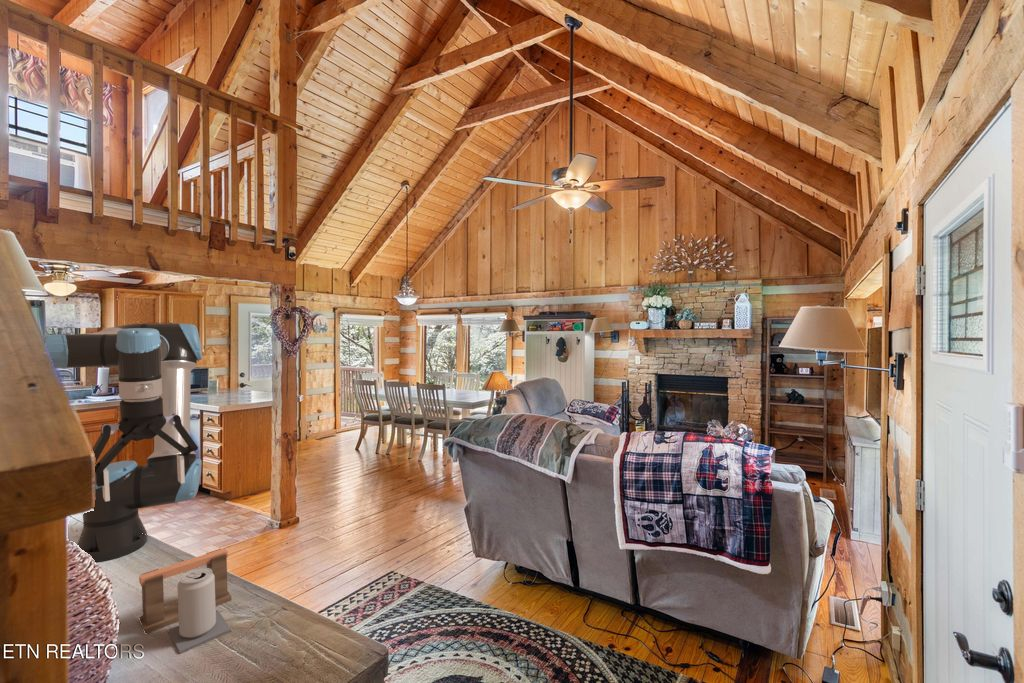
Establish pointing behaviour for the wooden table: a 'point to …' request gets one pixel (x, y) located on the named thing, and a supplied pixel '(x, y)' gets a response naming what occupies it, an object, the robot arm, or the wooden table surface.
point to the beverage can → (196, 602)
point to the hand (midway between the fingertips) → (145, 490)
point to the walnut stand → (164, 616)
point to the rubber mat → (189, 643)
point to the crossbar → (182, 566)
